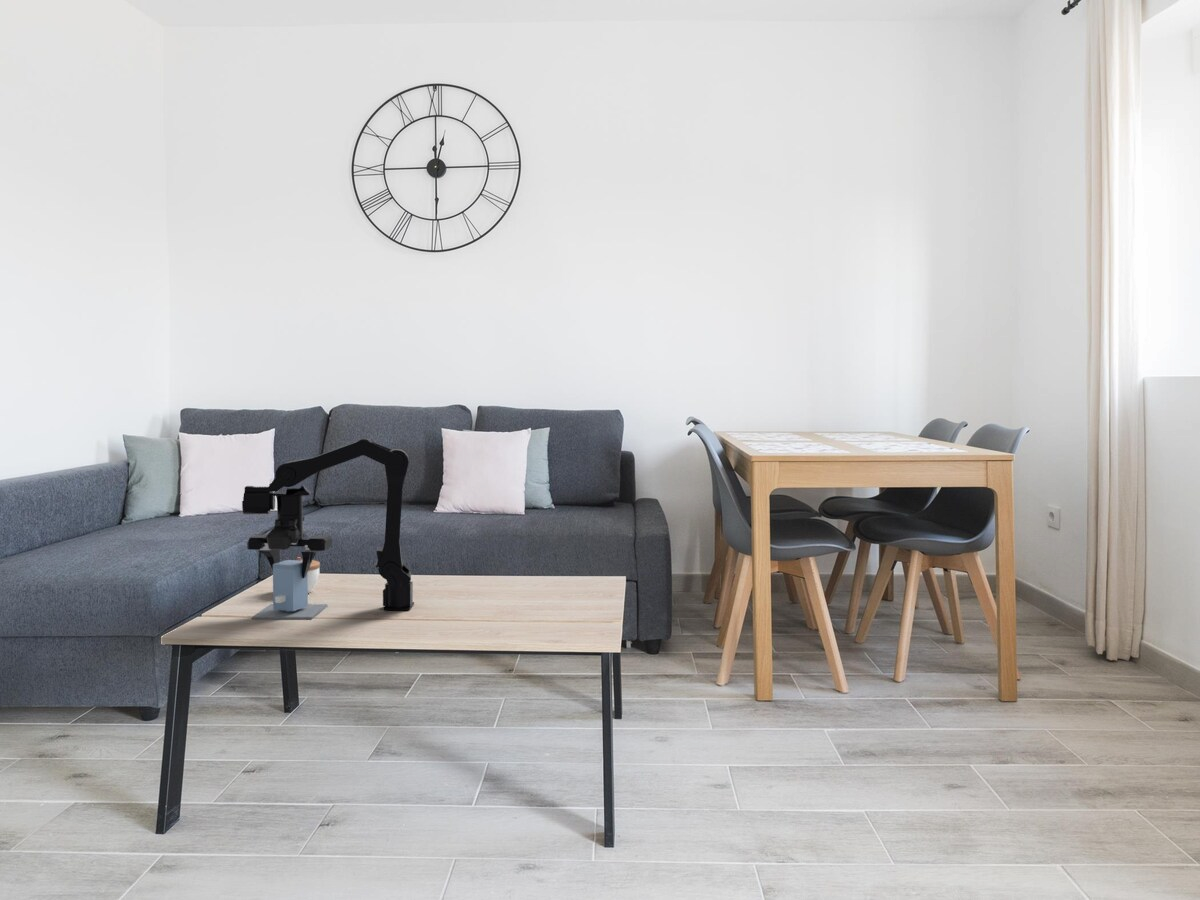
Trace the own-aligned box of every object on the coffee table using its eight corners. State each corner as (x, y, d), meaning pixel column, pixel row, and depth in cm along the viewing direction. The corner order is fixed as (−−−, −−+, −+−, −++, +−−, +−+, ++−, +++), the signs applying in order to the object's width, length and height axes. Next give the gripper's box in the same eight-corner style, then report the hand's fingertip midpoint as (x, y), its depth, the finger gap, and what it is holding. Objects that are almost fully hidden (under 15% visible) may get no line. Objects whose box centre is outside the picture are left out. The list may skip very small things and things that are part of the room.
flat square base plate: (327, 606, 201) (327, 588, 201) (312, 619, 189) (312, 600, 189) (270, 606, 201) (270, 588, 200) (252, 618, 189) (251, 600, 188)
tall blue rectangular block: (288, 603, 198) (287, 559, 198) (307, 605, 197) (307, 561, 196) (267, 611, 191) (267, 565, 190) (287, 613, 190) (287, 567, 189)
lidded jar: (306, 598, 209) (305, 562, 209) (269, 595, 212) (268, 560, 211) (327, 588, 220) (327, 554, 219) (292, 586, 222) (292, 552, 222)
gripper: (235, 518, 186) (236, 584, 187) (316, 519, 185) (316, 586, 186) (257, 511, 197) (257, 574, 198) (332, 512, 197) (333, 575, 197)
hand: (290, 577), depth 195 cm, fingers closed on tall blue rectangular block, 6 cm apart
